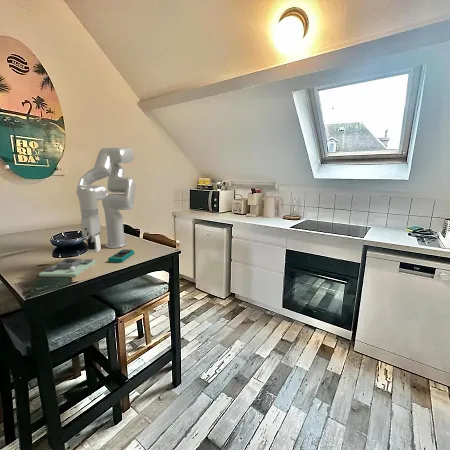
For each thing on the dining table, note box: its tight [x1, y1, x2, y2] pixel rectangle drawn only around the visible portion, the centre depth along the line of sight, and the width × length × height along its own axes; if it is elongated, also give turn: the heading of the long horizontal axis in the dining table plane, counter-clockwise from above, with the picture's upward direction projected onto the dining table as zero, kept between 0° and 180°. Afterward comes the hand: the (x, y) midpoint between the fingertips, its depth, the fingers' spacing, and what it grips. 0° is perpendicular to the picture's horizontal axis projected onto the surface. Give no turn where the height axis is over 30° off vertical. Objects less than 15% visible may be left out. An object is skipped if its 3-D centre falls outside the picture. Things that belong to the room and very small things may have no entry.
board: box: [38, 258, 97, 278], centre depth 119 cm, size 18×16×4 cm
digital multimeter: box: [107, 249, 135, 264], centre depth 135 cm, size 7×15×3 cm, turn 174°
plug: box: [88, 234, 102, 253], centre depth 130 cm, size 5×4×8 cm
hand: (94, 247), depth 130 cm, fingers closed on plug, 4 cm apart
